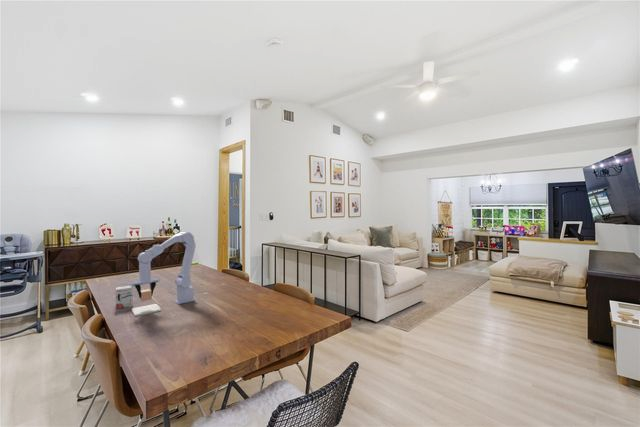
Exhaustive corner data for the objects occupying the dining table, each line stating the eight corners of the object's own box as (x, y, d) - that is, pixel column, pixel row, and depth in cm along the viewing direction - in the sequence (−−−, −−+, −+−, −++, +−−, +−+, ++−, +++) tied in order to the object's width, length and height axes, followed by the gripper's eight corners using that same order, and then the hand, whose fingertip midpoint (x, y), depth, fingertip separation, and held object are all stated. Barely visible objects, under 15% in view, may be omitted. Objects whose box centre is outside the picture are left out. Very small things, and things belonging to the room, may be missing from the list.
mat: (156, 305, 180) (156, 303, 180) (161, 311, 170) (161, 309, 170) (131, 310, 172) (131, 308, 172) (134, 316, 162) (134, 314, 162)
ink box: (115, 309, 174) (115, 289, 174) (116, 306, 178) (115, 287, 178) (132, 306, 179) (132, 286, 179) (132, 303, 183) (132, 285, 183)
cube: (150, 297, 174) (149, 288, 174) (151, 299, 170) (151, 290, 170) (140, 299, 171) (139, 290, 171) (141, 301, 167) (141, 292, 167)
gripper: (131, 276, 163) (132, 300, 163) (160, 272, 172) (161, 295, 172) (129, 274, 168) (130, 297, 169) (158, 270, 177) (158, 292, 178)
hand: (145, 296), depth 171 cm, fingers closed on cube, 5 cm apart
